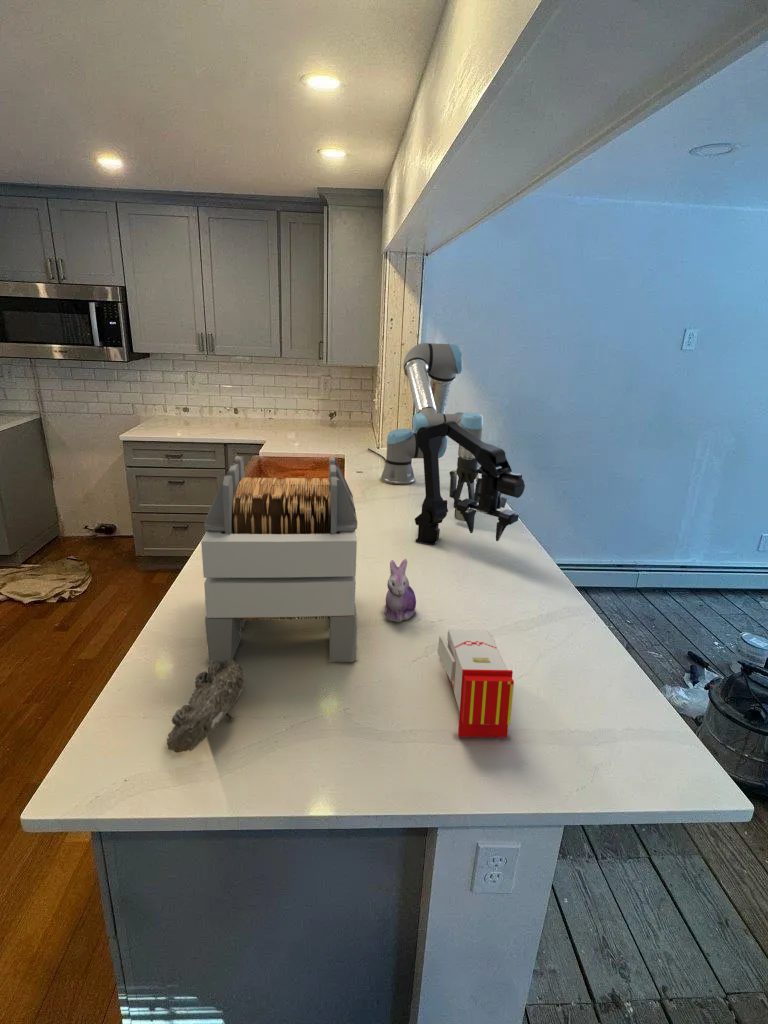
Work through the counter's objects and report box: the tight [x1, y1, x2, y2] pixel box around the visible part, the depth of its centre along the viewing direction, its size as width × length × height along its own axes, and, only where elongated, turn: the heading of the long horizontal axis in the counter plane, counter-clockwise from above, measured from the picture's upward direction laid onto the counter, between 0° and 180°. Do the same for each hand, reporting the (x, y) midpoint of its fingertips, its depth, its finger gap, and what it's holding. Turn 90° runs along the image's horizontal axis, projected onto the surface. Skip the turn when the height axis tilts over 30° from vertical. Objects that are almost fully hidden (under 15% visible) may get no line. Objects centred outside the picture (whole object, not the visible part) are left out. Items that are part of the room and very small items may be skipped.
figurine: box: [384, 558, 417, 623], centre depth 145 cm, size 9×10×15 cm
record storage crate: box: [200, 455, 358, 666], centre depth 133 cm, size 34×33×41 cm
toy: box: [437, 628, 515, 738], centre depth 117 cm, size 12×13×30 cm
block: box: [454, 507, 466, 523], centre depth 209 cm, size 4×4×5 cm
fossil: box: [166, 659, 245, 754], centre depth 106 cm, size 22×10×15 cm
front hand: (484, 536), depth 178 cm, fingers open, 9 cm apart
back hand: (462, 518), depth 210 cm, fingers closed on block, 4 cm apart
